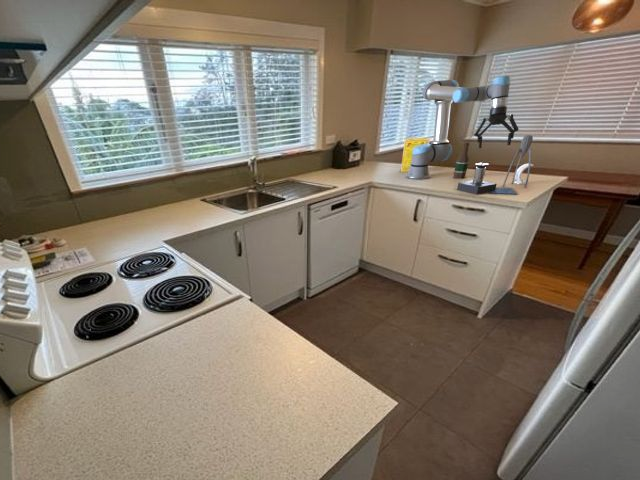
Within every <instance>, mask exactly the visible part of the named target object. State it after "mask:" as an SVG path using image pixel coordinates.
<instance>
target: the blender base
mask: <svg viewBox="0 0 640 480" xmlns="http://www.w3.org/2000/svg"><path fill="white" fill-rule="evenodd" d="M472 183H473V180H472V179H471V180H466V181H460V182H458V183H457V188H456V190H457V191H460V192H464V193H469V194H472V195H473V194H474V195H482V194H487V193H490V191H494V190H495V189H496V187H497V185H498V184H497V183H494V182H490V181H484V180H483V181H482V184H480V185H476V184H472Z"/></svg>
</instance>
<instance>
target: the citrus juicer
mask: <svg viewBox="0 0 640 480" xmlns="http://www.w3.org/2000/svg"><path fill="white" fill-rule="evenodd" d="M533 139H534V138H533V135H531V134H526V135H524V136H523V138H522V140H521V141H520V148H518V150H517V152H516V154H514V156H513V157H514V158H513V159H512V161H511V164H510V166H509V168H508V171H507V173H506V175H505V178H504V180H503V184H502V188H505V185H506V182H507V180H508V177H509V174H510V172H511V170H512V167H513V166H514V163H515V161H516V159H517V157H518V155H519V154H520V156H519V158H518V161H517V164H516V167H515V171H514V174H513V176H512V179H511V185H512V184H514V182H515V175H516V172H517V169H518V168H519V167H520V166H519V165H520V162H521V160H522V158H523V157H524V156H525V155H526V153H528V163H529V166H528V168H527V172H526V173H527V174H526V179H525V182H526V183H525V184H524V188H525V189H526V188H527V185H528V184H527V183H529V177H530V172H531V167H532V166H531V164H532V147H531V145H532V143H533ZM530 147H531V148H530Z"/></svg>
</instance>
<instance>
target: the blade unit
mask: <svg viewBox="0 0 640 480" xmlns="http://www.w3.org/2000/svg"><path fill="white" fill-rule="evenodd" d="M489 164H490V163H484V162H479V163H475V165H476V167H475V171H474V175H473V183H472V184H476V185H480V184H482V181H484V177H485V173H486V169H487V167H486V166H488V165H489Z"/></svg>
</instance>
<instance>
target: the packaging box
mask: <svg viewBox="0 0 640 480" xmlns="http://www.w3.org/2000/svg"><path fill="white" fill-rule="evenodd" d="M423 144H431V137H408V138H407V139H405V140H404V145H403V153H402V159H401V167H400V172H401V173H402V172H403V173H408V171H409V169H410V167H411V161H412V153H413V149H414V147H416V146H418V145H423Z"/></svg>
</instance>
